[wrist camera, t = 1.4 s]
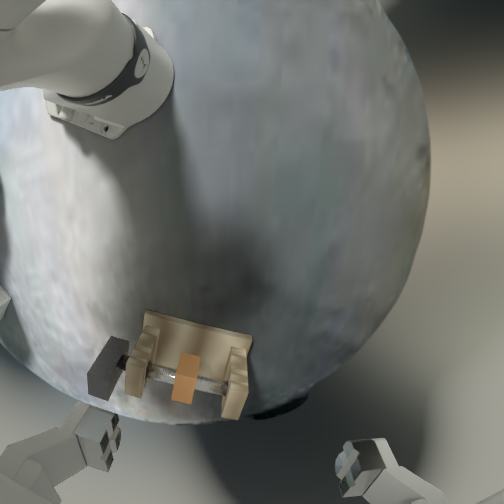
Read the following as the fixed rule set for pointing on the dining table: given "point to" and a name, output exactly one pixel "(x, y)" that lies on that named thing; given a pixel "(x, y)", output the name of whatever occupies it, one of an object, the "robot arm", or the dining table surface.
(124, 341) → the shaft
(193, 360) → the spacer
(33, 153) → the dining table surface
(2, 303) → the supplement box
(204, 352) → the shaft stand
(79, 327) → the dining table surface
